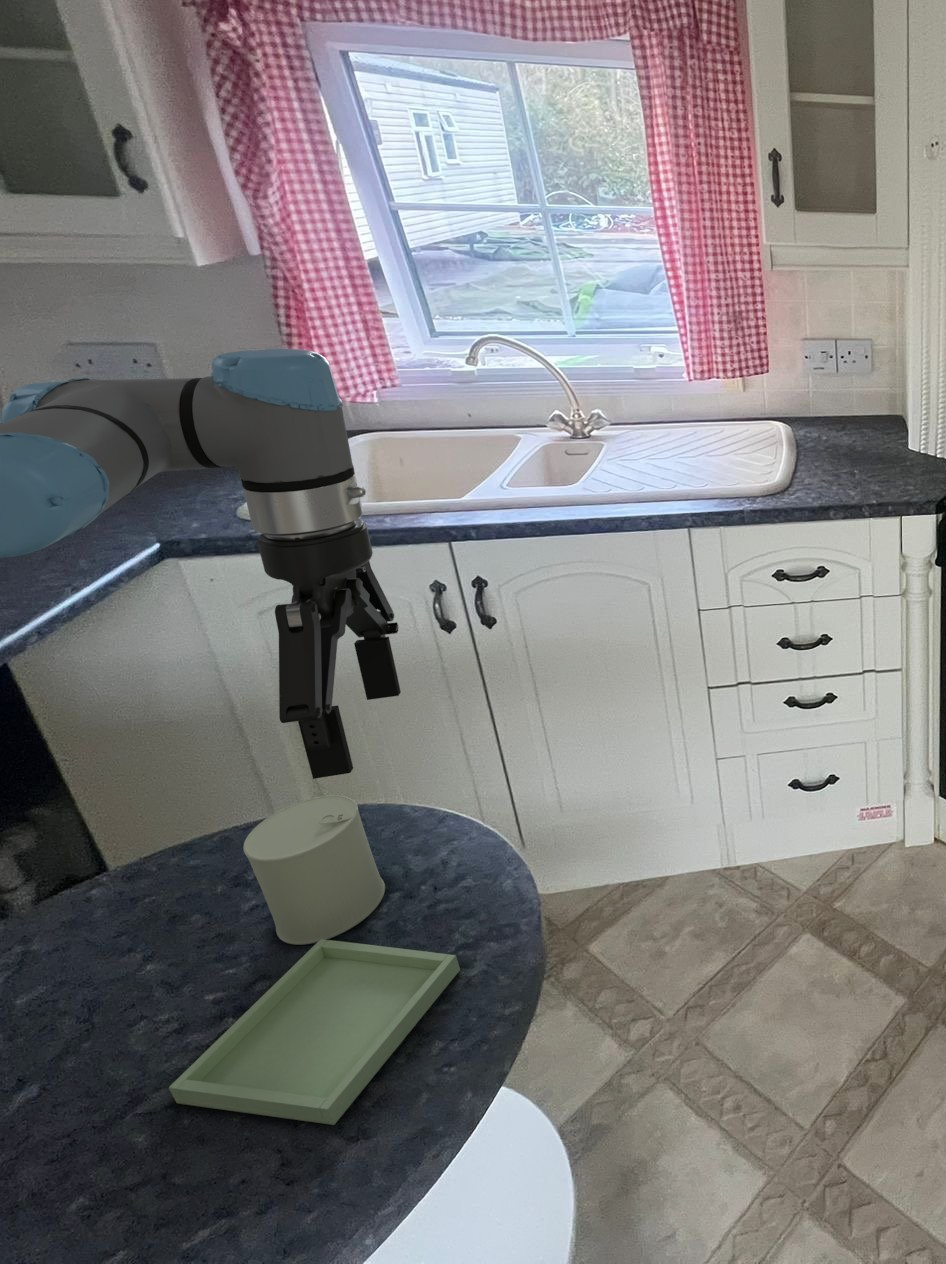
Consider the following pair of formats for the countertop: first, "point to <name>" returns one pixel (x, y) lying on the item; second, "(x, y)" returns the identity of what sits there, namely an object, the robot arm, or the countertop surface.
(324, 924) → the can
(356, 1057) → the tray
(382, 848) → the countertop surface
